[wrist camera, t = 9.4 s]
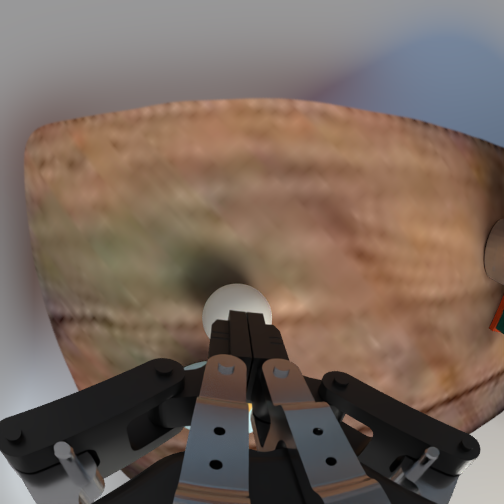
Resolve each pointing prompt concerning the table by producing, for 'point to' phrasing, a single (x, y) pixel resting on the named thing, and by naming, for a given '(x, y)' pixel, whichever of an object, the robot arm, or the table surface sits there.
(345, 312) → the table surface
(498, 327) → the power tool
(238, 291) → the cue ball
